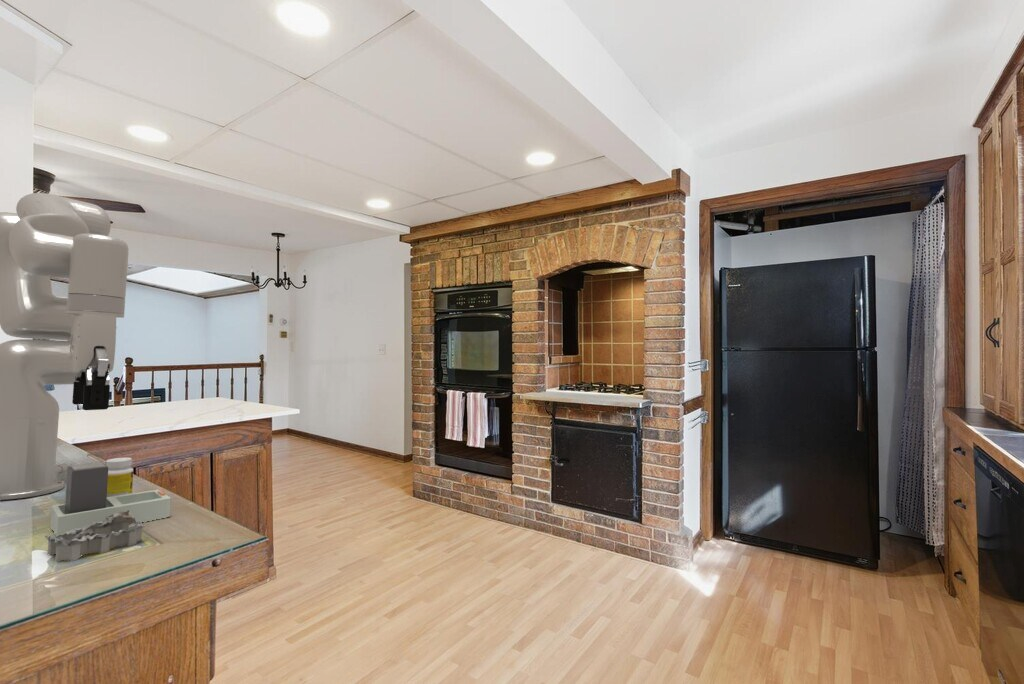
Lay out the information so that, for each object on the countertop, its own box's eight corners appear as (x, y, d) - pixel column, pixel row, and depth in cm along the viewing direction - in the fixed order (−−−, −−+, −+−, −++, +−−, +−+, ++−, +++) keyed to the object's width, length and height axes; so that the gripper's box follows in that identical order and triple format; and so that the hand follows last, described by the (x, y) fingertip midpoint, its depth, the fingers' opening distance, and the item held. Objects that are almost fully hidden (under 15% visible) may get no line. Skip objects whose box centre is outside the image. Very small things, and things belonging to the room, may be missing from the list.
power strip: (56, 539, 75) (58, 515, 75) (49, 526, 80) (51, 503, 81) (169, 517, 87) (171, 496, 87) (157, 507, 92) (158, 487, 92)
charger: (68, 520, 78) (72, 470, 78) (64, 514, 81) (67, 465, 81) (105, 514, 81) (108, 466, 81) (100, 508, 84) (103, 461, 84)
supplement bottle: (135, 501, 95) (138, 459, 95) (105, 507, 91) (108, 463, 91) (126, 497, 98) (128, 456, 98) (96, 502, 94) (99, 459, 94)
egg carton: (130, 533, 80) (132, 508, 80) (147, 544, 75) (148, 518, 75) (42, 552, 71) (44, 524, 71) (55, 566, 67) (57, 537, 67)
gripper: (59, 306, 85) (52, 403, 84) (76, 302, 74) (68, 413, 73) (113, 311, 91) (107, 401, 90) (136, 307, 80) (129, 410, 79)
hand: (89, 406), depth 82 cm, fingers open, 9 cm apart
